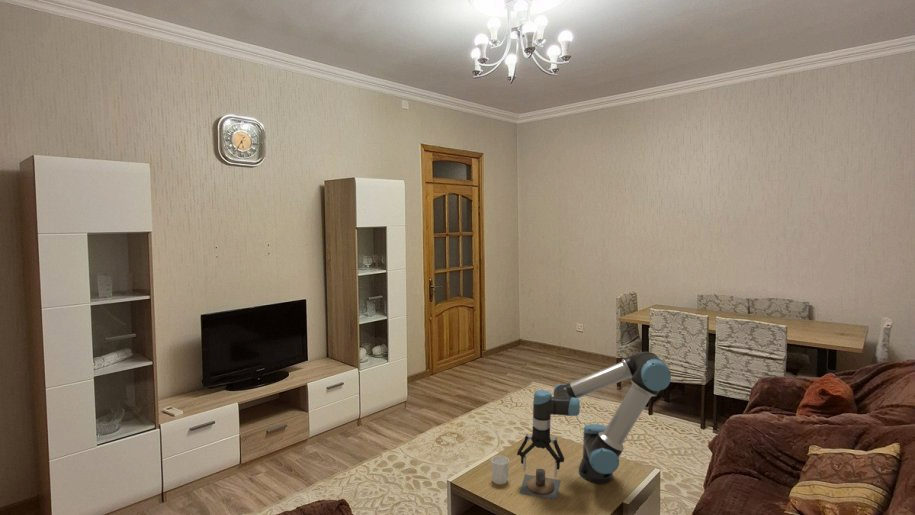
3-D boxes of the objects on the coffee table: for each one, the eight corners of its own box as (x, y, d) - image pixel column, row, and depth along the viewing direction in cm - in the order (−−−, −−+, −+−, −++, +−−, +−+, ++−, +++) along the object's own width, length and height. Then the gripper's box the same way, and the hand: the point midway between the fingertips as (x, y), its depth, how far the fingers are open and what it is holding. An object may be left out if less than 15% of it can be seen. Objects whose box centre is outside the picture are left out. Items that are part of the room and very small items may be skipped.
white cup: (488, 483, 219) (488, 461, 218) (495, 474, 226) (495, 454, 225) (504, 487, 216) (505, 466, 215) (511, 479, 223) (511, 458, 222)
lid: (555, 481, 220) (555, 466, 219) (552, 496, 208) (553, 480, 208) (528, 477, 223) (528, 462, 223) (524, 491, 212) (524, 475, 211)
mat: (560, 481, 221) (560, 480, 221) (557, 501, 206) (557, 500, 206) (525, 475, 226) (525, 474, 226) (519, 494, 210) (519, 493, 210)
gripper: (571, 427, 213) (569, 473, 215) (514, 419, 220) (513, 464, 222) (570, 434, 206) (568, 482, 208) (511, 426, 213) (510, 472, 215)
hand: (539, 473), depth 215 cm, fingers open, 13 cm apart
